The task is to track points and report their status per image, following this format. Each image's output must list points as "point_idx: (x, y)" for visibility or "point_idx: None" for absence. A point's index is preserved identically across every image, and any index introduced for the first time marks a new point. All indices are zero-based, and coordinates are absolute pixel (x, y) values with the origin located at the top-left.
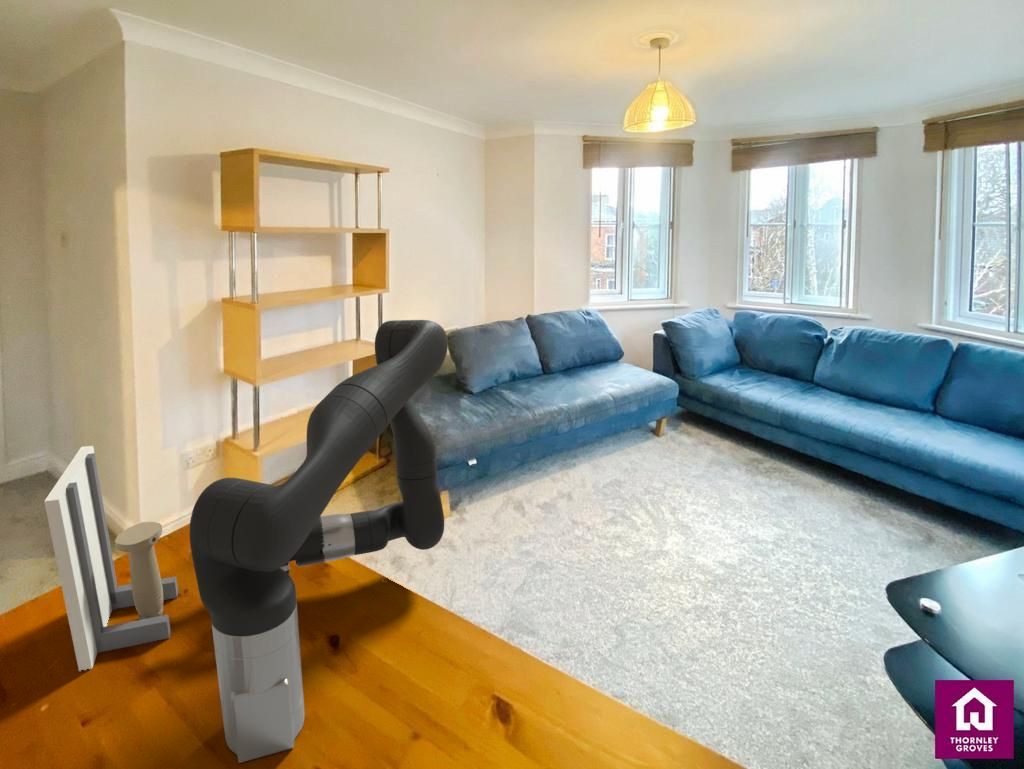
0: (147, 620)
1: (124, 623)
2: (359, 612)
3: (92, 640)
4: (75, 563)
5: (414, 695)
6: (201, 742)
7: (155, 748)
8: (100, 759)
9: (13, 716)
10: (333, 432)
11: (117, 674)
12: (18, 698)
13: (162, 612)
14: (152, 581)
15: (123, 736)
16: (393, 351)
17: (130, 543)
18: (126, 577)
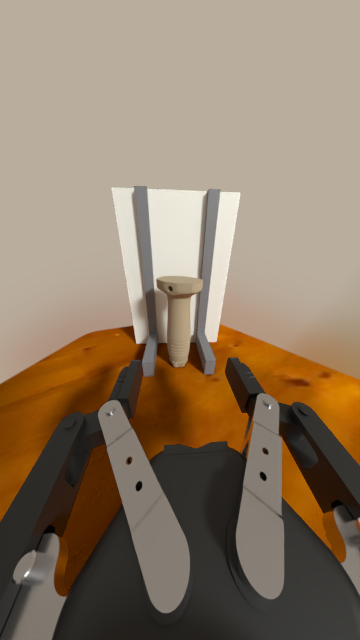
0: (151, 351)
1: (155, 341)
2: None
3: (145, 332)
4: (133, 267)
5: None
6: None
7: (7, 386)
8: (42, 359)
9: (119, 328)
10: None
11: (120, 354)
12: (132, 327)
13: (181, 366)
14: (169, 331)
15: (49, 366)
16: None
17: (158, 278)
18: (234, 342)
